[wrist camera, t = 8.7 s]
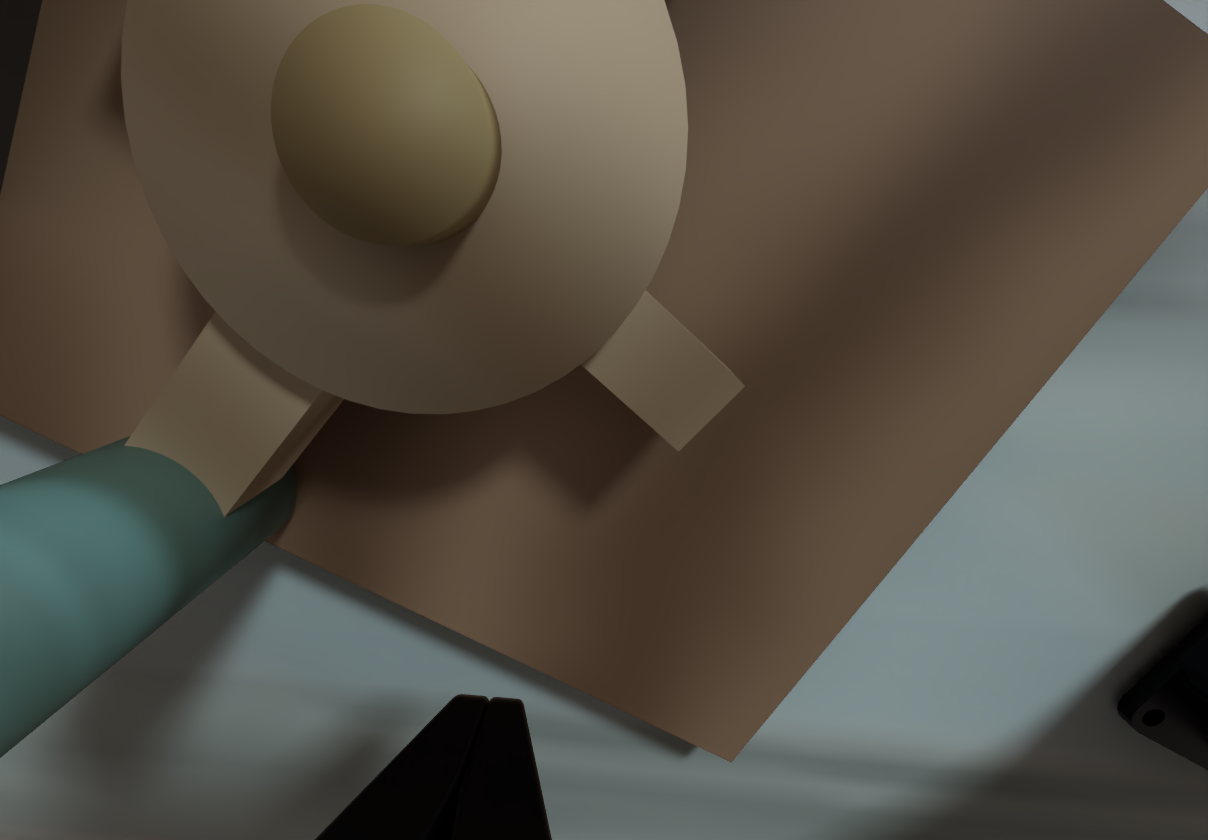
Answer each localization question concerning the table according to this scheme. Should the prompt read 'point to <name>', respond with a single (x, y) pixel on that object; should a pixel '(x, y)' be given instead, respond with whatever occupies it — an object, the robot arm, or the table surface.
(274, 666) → the table surface
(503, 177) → the capstan
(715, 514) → the stand
